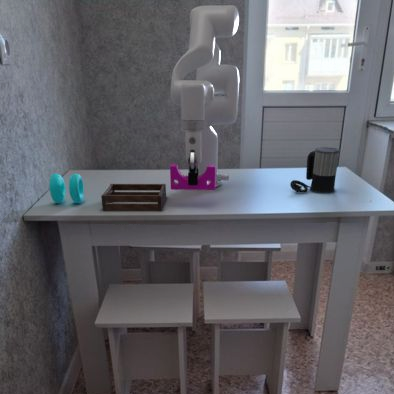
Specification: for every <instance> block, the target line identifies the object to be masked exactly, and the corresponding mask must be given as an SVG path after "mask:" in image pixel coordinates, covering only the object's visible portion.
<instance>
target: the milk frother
mask: <svg viewBox="0 0 394 394" xmlns="http://www.w3.org/2000/svg"><path fill="white" fill-rule="evenodd" d="M340 152H341V149H340V148H336V147H327V146H326V147H325V146H324V147H323V146H322V147H316V148H315V149H314V150H313V151H311V152H309V154H308V155H307V158H306V171H305V172H306V174H305V175H306V176H305V178H306V180H308V181H311V183H310V186H309V185H308V184H306V183H305V182H302V181H300V180H295V179H293V180H291V181H290V183H289V187H290V188H291V189H292V190H293V191H295V193H300V194H301V193H303V194H304V193H308V191H309V190H310V191H311V192H315V193H320V194H330V193H333V192H335V185H336V176H337V171H338V165H339V164H338V163H339V158H340ZM302 188H303V189H302Z"/></svg>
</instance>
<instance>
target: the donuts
mask: <svg viewBox="0 0 394 394" xmlns="http://www.w3.org/2000/svg"><path fill="white" fill-rule="evenodd" d="M66 191H67V190H66V183H65V181H64V177H63V176H62V175H61V174H59V173H57V172H56V173H53V174H51V176H50V178H49V195H50V197H51V199H52V201H53V202H54V203H55V204H61V203H63V202H64V201H65V198H66ZM68 193H69V196H70V198H71V200H72V202H73V203H75V204H81V203H82V202H83V200H84V197H85V184H84V180H83V178H82V175H80V174H79V173H73V174H71V176H70V178H69V181H68Z"/></svg>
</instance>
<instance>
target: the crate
mask: <svg viewBox="0 0 394 394" xmlns="http://www.w3.org/2000/svg"><path fill="white" fill-rule="evenodd" d="M100 197H101V207H102V211H112V212H113V211H116V212H117V211H118V212H119V211H126V212H128V211H129V212H131V211H132V212H135V211H138V212H139V211H140V212H143V211H145V212H148V211H149V212H153V211H154V212H162V211H163V206H164V204H165V201H166V199H167V184H166V183H110V184H109V186H108V188H106V190H105V191H104V192H103V193H102V194H101V196H100Z"/></svg>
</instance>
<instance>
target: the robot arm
mask: <svg viewBox="0 0 394 394" xmlns="http://www.w3.org/2000/svg"><path fill="white" fill-rule="evenodd" d="M239 23H240V14H239V10H238V7H237V6H236V5H232V4H227V5H226V4H225V5H223V4H222V5H219V4H218V5H213V4H212V5H210V4H209V5H200V6H196V7H193V8H192V9H191V11H190V13H189V26H190V32H189V41H188V50H187V51H186V52H185V53H183V55H182V56H181V57H180V58H179V59H178V61H177V62H176V64H175V65H174V67H173V70H172V73H171V82H170V95H169V96H170V100H171V102H172V104H173V105H175V106H178V107H180V118H181V119H180V121H181V122H180V123H181V125H180V127H181V132H184V138H185V139H184V140H185V141H184V142H185V145H184V146H185V158H186V159H185V161H186V164H187V165H188V173H187V176H188V185H198V176H200V175H202V174H203V173H204V172H205V171H206V169H207V165H216V172H215V173H216V187H220V186H221V185H222V181H230V175H228V174H221V173H219V170H218V165H219V163H218V162H219V137H218V134H217V132H216V130H215V128H213V126H217V125H218V126H229V125H231V126H232V125H233V124H235V123H236V121H237V119H238V114H239V113H238V112H239V111H238V110H239V95H240V72H239V69H238V67H237V66H236V65H234V64H221V49H220V47H219V45H218V44H217V42H216V39H228V38H233V37H234V36H235V34H236V33H237V31H238V28H239ZM195 70H196V73H195V74H196V75H195V80H194V79H192V80H191V79H187V80H186V79H185V80H183V79H184V78H185V77H186V76H187V75H188V74H190V73H191V72H193V71H195ZM219 95H220V96H219ZM221 95H223V96H221ZM224 95H225V96H224ZM208 182H211V181H209V180H208ZM216 187H215V188H216Z"/></svg>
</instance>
